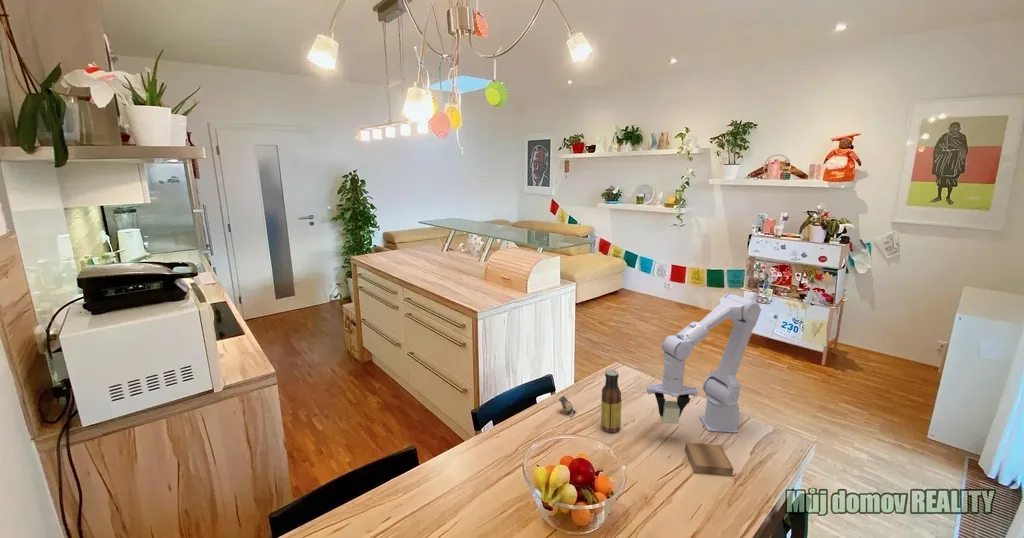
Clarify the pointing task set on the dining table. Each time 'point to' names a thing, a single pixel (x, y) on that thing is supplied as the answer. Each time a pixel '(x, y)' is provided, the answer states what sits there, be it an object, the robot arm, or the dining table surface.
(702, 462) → the walnut block
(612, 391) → the sauce bottle
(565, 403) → the bird figurine
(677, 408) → the sage cube
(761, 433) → the dining table surface
